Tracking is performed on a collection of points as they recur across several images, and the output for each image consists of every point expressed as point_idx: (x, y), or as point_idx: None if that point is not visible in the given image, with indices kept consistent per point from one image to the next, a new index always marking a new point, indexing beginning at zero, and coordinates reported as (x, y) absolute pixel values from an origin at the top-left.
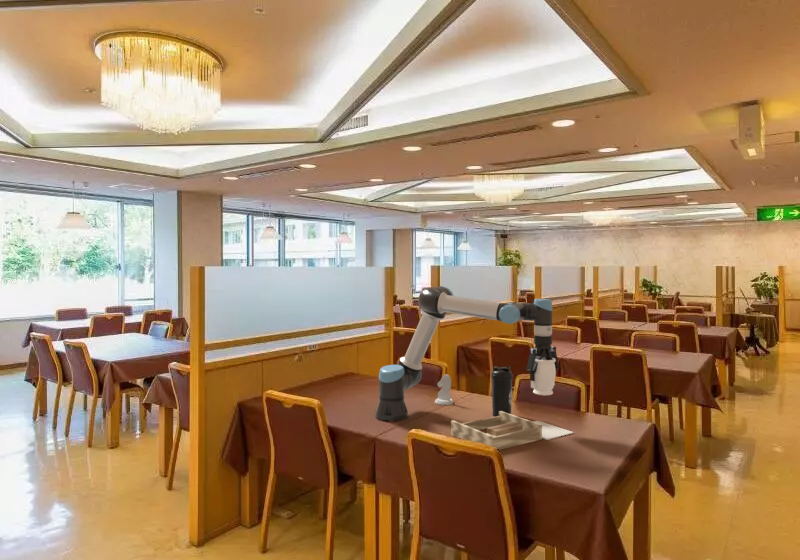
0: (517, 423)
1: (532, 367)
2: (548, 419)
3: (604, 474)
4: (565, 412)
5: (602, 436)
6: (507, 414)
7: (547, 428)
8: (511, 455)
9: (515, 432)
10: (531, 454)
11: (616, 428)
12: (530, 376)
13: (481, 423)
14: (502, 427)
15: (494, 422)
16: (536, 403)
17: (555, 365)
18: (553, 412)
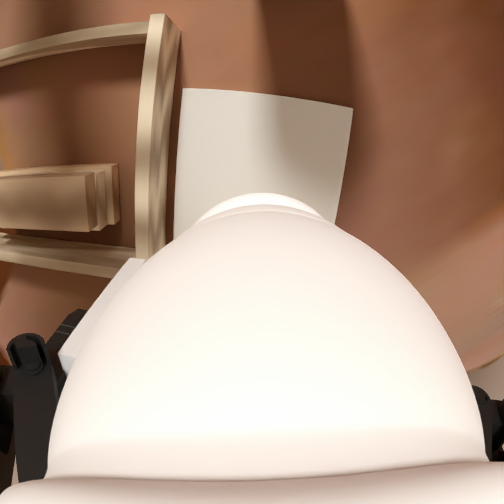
0: (82, 207)
1: (3, 454)
2: (411, 125)
3: None
4: None
5: None
6: (142, 75)
7: None
8: (14, 286)
9: (33, 260)
10: (55, 314)
11: (450, 334)
12: (53, 341)
13: (57, 47)
14: (14, 209)
15: (125, 40)
16: None
17: (499, 439)
18: (493, 96)
